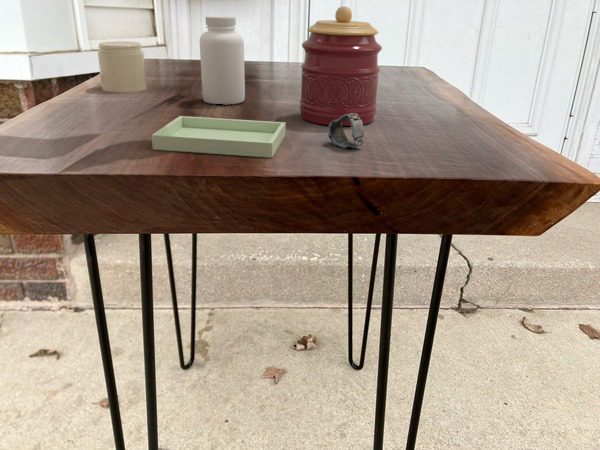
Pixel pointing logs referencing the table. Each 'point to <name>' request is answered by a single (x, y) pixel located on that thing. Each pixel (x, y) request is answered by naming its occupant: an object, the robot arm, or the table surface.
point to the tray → (220, 136)
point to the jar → (122, 67)
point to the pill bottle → (222, 61)
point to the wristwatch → (339, 136)
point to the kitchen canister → (340, 70)
